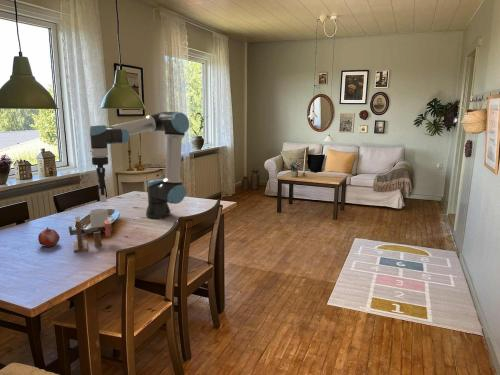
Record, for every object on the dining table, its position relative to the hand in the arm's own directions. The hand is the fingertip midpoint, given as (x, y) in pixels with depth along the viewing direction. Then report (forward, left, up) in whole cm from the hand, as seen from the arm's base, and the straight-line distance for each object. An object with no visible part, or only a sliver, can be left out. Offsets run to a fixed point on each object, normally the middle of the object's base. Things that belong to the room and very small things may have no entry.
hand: (102, 198), depth 186 cm
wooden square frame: (+12, +6, -22) cm, 26 cm away
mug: (+1, -19, -22) cm, 29 cm away
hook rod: (+7, +6, -17) cm, 20 cm away
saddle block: (+4, +6, -22) cm, 23 cm away
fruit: (+26, -3, -23) cm, 35 cm away
